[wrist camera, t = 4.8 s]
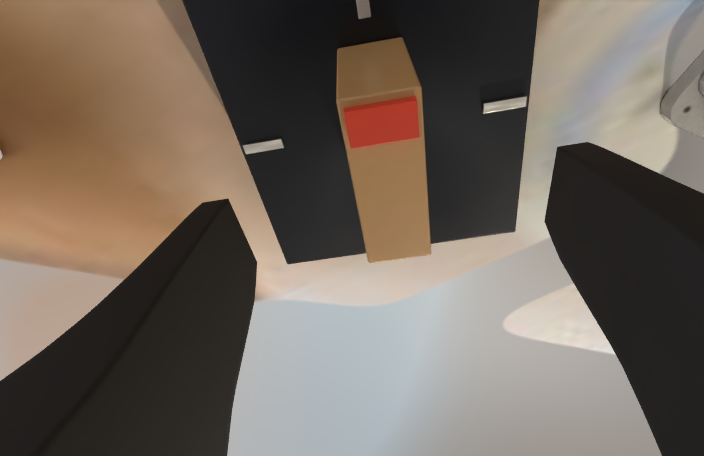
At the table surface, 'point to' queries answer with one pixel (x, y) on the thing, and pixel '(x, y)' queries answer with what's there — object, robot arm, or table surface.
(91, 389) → the robot arm
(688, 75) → the emergency button
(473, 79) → the control panel
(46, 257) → the table surface
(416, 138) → the tan rectangular block
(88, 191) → the table surface
